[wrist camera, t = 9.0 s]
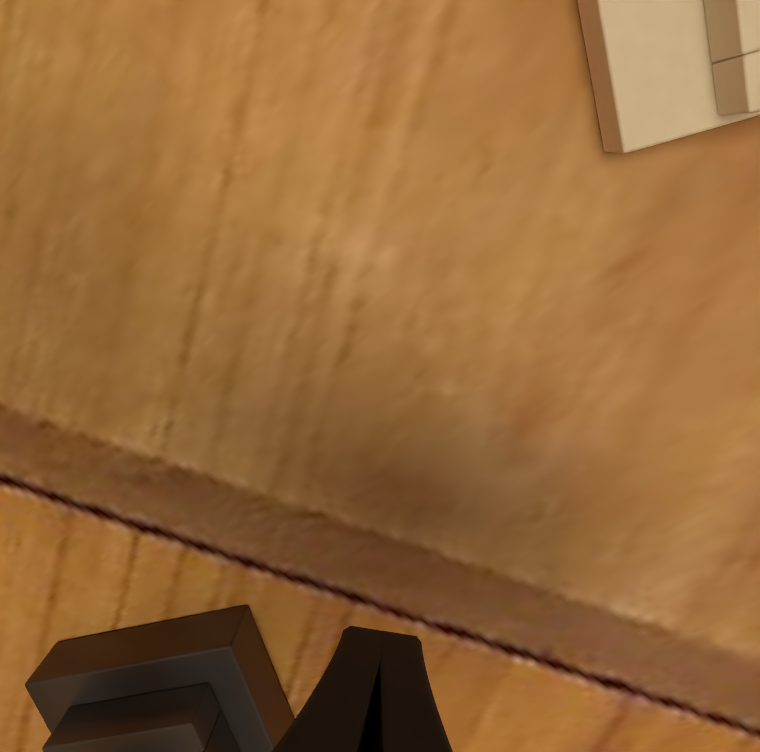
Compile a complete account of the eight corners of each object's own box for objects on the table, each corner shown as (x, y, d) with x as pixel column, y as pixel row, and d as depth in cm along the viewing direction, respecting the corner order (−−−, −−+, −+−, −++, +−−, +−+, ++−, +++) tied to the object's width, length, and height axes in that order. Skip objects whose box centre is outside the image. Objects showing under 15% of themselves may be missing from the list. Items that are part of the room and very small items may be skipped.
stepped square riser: (135, 794, 29) (88, 893, 25) (55, 641, 26) (-9, 725, 22) (314, 767, 27) (294, 868, 23) (247, 604, 25) (213, 686, 21)
